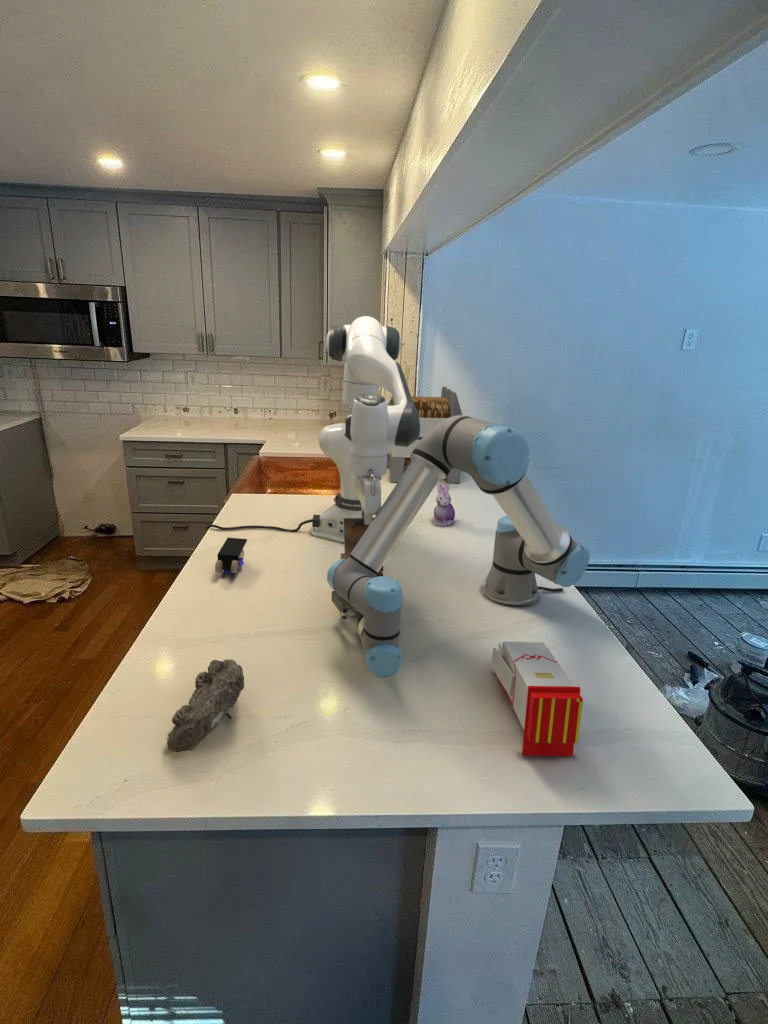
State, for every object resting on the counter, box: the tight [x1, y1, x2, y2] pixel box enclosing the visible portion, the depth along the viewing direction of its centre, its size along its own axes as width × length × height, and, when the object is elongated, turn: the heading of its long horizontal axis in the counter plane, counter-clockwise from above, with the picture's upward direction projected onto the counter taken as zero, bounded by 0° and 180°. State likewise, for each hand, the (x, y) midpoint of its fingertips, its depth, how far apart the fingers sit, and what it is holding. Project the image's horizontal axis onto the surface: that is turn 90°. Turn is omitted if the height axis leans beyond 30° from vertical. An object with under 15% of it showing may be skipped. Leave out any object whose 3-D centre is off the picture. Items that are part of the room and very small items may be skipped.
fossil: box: [166, 658, 245, 754], centre depth 106 cm, size 22×10×15 cm
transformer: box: [387, 386, 463, 484], centre depth 268 cm, size 34×33×41 cm
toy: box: [490, 641, 584, 757], centre depth 113 cm, size 12×13×30 cm
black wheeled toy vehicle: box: [214, 537, 248, 578], centre depth 166 cm, size 7×8×15 cm
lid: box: [343, 517, 384, 573], centre depth 141 cm, size 14×10×8 cm
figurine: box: [432, 482, 456, 527], centre depth 210 cm, size 9×10×15 cm
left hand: (366, 520), depth 138 cm, fingers open, 3 cm apart
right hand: (361, 580), depth 149 cm, fingers closed on chest, 10 cm apart
